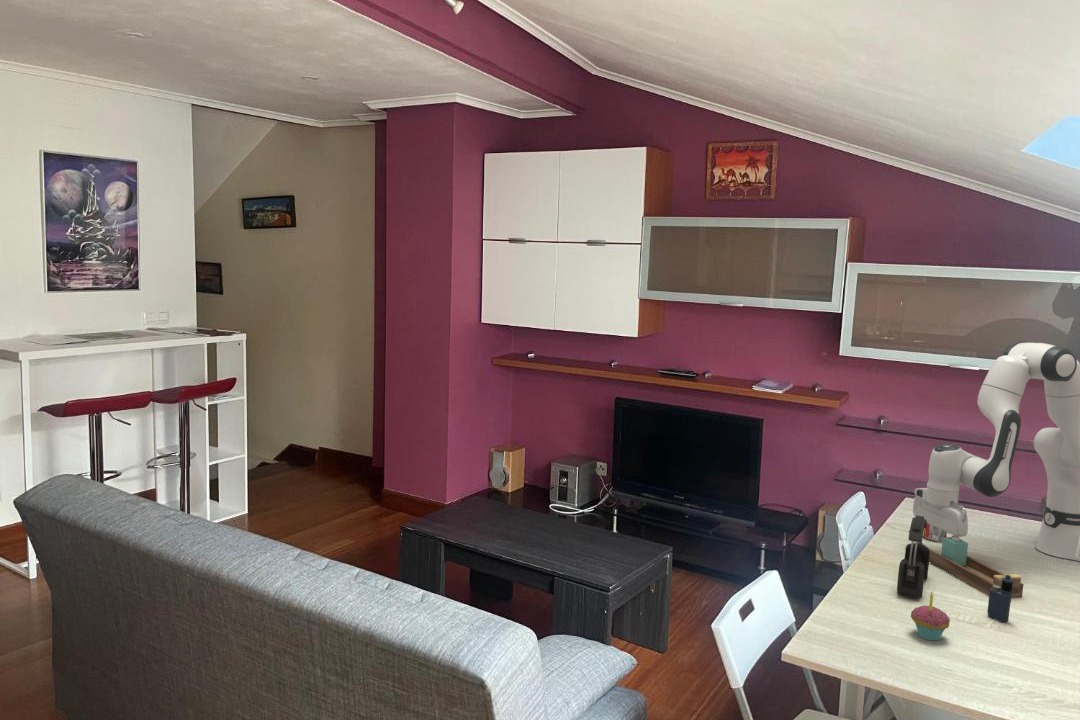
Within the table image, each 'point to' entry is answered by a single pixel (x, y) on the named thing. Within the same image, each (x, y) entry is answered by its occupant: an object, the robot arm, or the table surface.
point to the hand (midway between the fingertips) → (937, 540)
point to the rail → (976, 574)
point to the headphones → (914, 562)
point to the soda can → (929, 533)
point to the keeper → (955, 550)
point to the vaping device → (1000, 600)
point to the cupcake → (930, 621)
